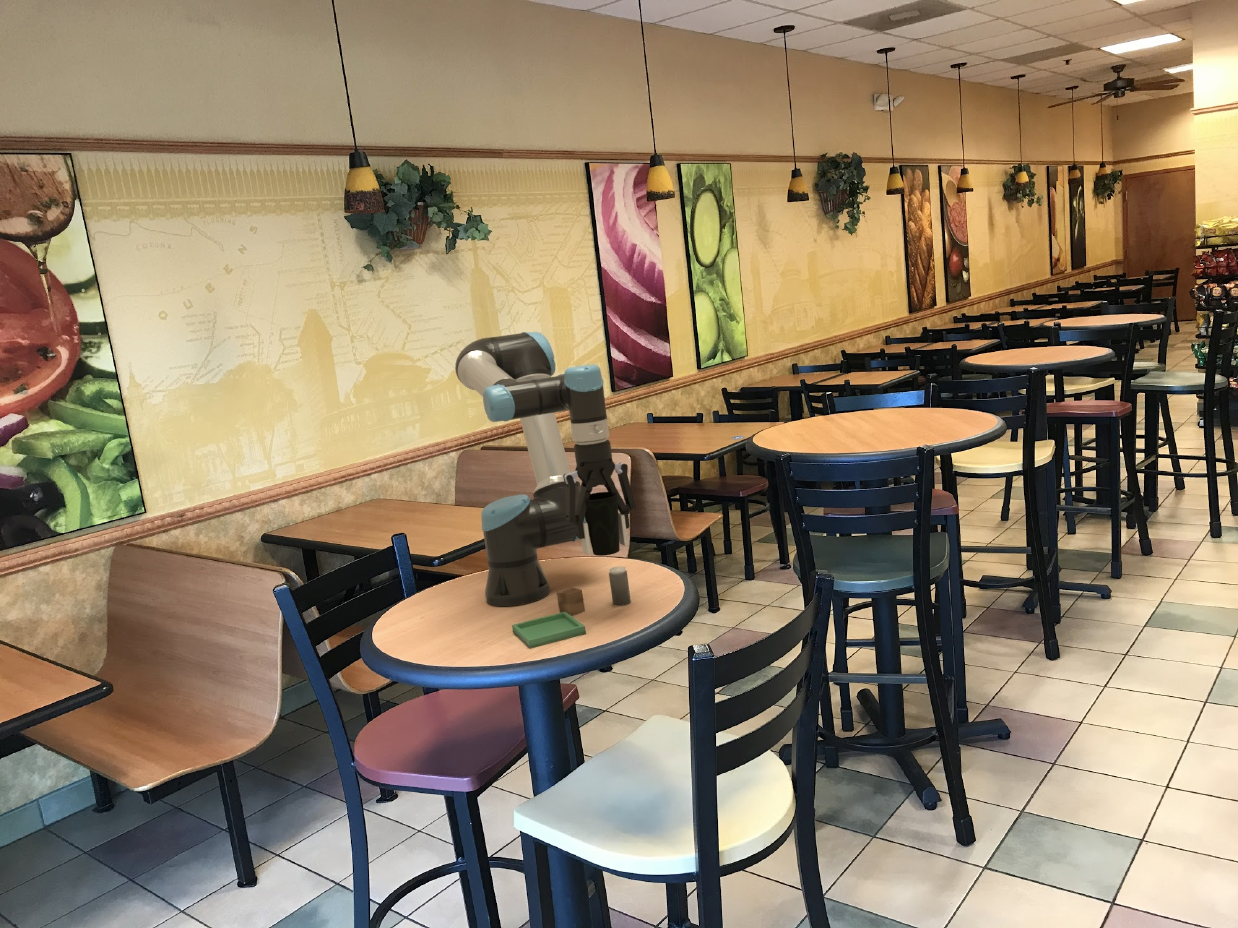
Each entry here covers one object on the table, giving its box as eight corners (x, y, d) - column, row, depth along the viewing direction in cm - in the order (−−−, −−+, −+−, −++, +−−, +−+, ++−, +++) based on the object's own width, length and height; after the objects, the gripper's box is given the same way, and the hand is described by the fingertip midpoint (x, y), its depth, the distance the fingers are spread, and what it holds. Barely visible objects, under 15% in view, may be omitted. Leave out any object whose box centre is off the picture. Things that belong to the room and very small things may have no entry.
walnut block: (559, 613, 205) (556, 591, 204) (574, 608, 207) (571, 586, 206) (570, 616, 201) (566, 594, 201) (585, 611, 204) (582, 589, 203)
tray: (512, 632, 196) (511, 624, 196) (566, 618, 201) (565, 611, 200) (529, 648, 185) (528, 640, 185) (586, 633, 190) (585, 625, 189)
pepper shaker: (610, 602, 208) (605, 568, 206) (626, 598, 209) (622, 565, 208) (617, 607, 204) (612, 572, 203) (633, 602, 205) (629, 568, 204)
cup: (620, 555, 191) (613, 498, 189) (584, 558, 192) (577, 501, 190) (627, 545, 198) (620, 490, 196) (592, 547, 200) (585, 493, 198)
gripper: (551, 451, 184) (566, 563, 188) (644, 434, 192) (657, 541, 196) (538, 448, 191) (553, 555, 195) (629, 431, 199) (642, 535, 202)
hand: (605, 548), depth 195 cm, fingers closed on cup, 8 cm apart
